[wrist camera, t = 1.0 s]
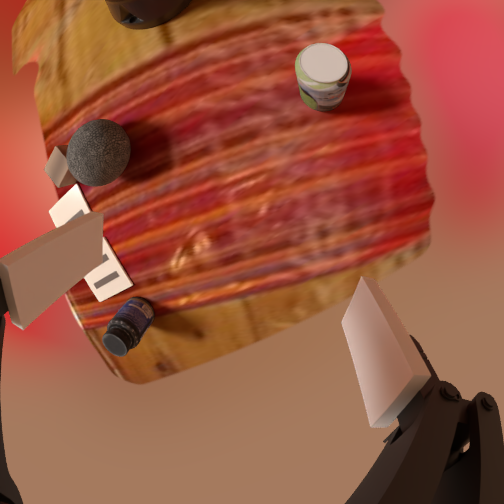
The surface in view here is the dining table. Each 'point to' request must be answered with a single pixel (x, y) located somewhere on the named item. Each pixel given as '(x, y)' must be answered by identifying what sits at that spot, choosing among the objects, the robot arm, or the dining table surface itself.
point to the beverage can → (322, 76)
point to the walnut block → (59, 167)
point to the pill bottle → (128, 326)
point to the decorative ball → (98, 152)
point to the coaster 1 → (69, 207)
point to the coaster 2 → (108, 275)
